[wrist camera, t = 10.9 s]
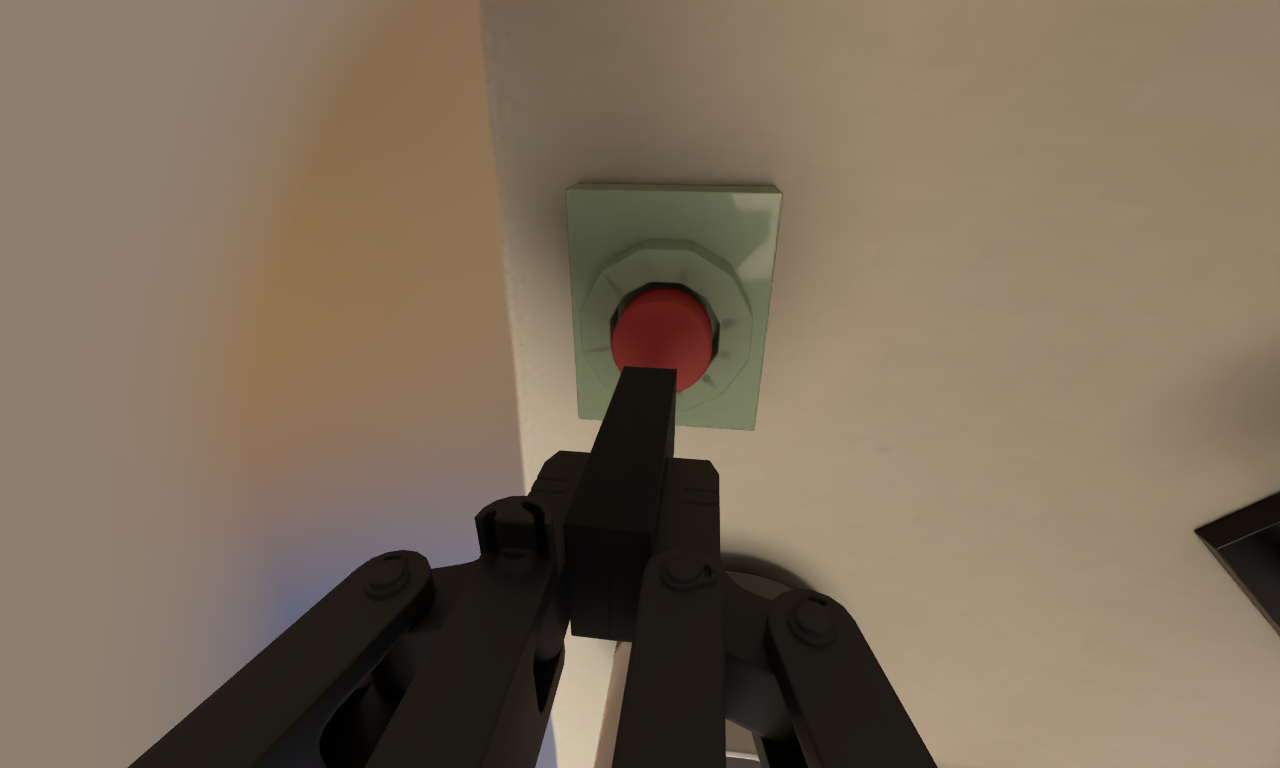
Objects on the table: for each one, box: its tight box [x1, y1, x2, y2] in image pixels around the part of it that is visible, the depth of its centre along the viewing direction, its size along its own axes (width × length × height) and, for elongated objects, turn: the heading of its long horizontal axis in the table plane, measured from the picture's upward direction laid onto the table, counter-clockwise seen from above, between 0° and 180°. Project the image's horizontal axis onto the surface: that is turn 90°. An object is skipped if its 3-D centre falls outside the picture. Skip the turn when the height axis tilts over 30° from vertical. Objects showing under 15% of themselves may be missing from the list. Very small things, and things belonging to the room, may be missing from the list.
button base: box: [565, 183, 783, 431], centre depth 21 cm, size 10×8×4 cm
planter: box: [594, 571, 793, 768], centre depth 27 cm, size 13×13×10 cm
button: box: [611, 288, 712, 392], centre depth 19 cm, size 4×4×2 cm
